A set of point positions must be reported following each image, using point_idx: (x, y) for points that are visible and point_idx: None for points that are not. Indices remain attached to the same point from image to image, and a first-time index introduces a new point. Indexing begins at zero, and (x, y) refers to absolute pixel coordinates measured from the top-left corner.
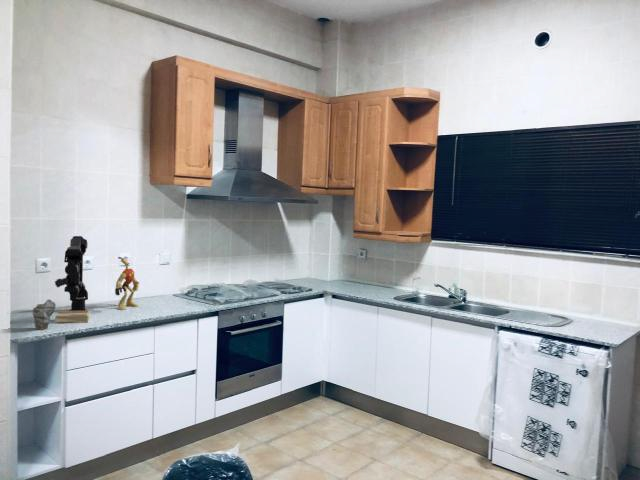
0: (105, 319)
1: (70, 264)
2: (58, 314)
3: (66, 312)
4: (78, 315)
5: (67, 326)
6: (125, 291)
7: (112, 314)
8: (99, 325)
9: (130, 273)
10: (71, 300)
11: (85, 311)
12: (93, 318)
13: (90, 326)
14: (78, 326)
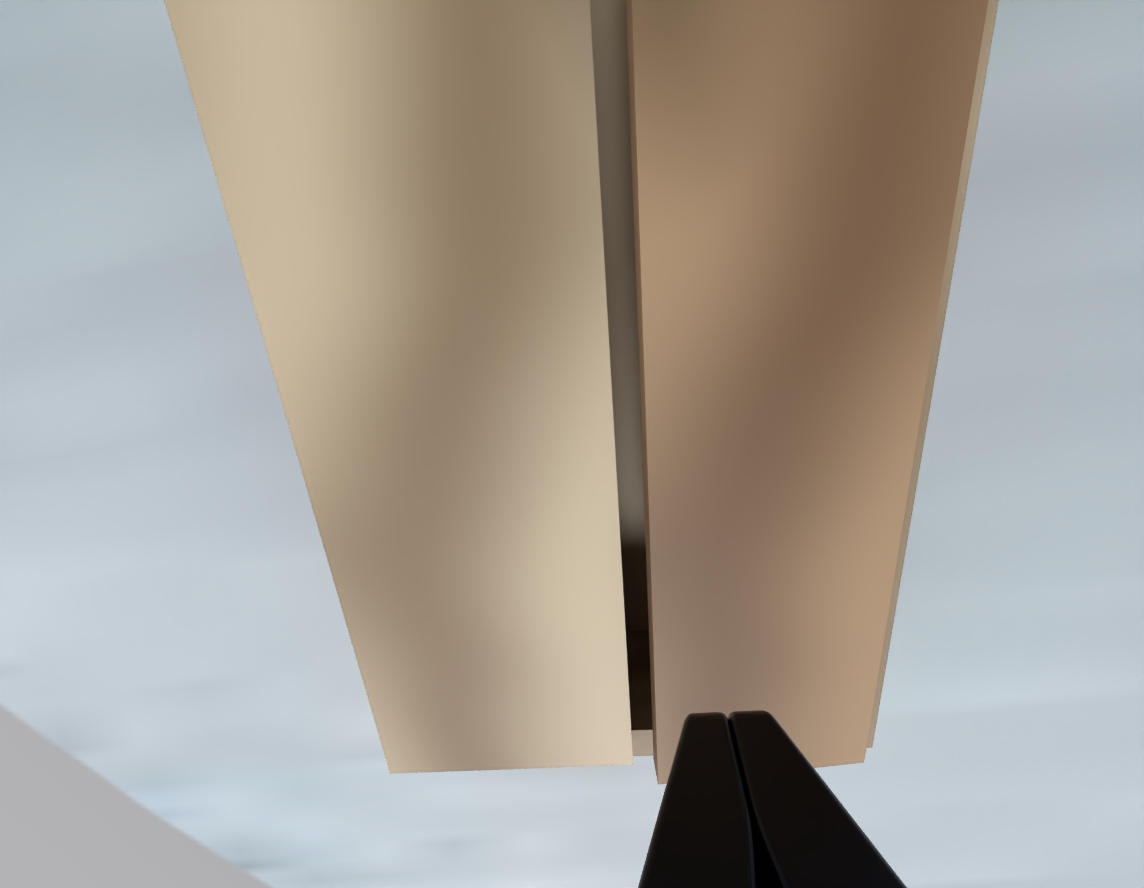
0: None
1: None
2: (347, 41)
3: (637, 290)
4: (355, 621)
5: (5, 355)
6: None
7: (1064, 878)
8: (218, 807)
9: None
10: (662, 813)
11: (669, 745)
12: None
13: (118, 715)
14: (67, 553)
